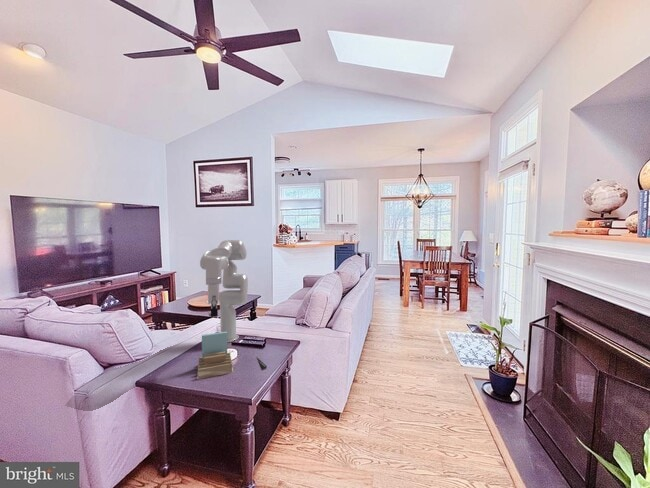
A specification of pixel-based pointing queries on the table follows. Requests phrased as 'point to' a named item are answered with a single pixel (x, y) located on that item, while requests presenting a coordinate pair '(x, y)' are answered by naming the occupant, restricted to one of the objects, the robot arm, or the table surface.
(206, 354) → the offcut
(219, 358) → the offcut
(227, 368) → the rack
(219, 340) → the tall sheet
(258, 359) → the phone
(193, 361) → the table surface
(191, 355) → the table surface
